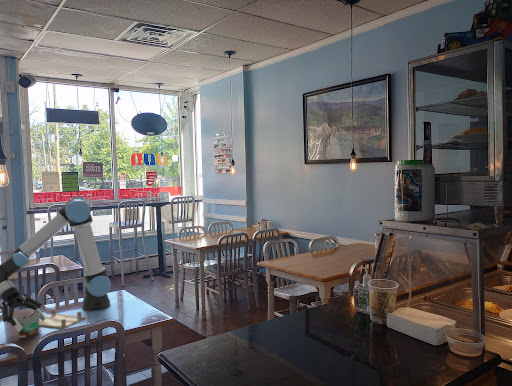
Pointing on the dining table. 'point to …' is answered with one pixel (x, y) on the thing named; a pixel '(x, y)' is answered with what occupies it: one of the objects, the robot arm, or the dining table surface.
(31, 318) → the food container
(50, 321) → the pin plate
